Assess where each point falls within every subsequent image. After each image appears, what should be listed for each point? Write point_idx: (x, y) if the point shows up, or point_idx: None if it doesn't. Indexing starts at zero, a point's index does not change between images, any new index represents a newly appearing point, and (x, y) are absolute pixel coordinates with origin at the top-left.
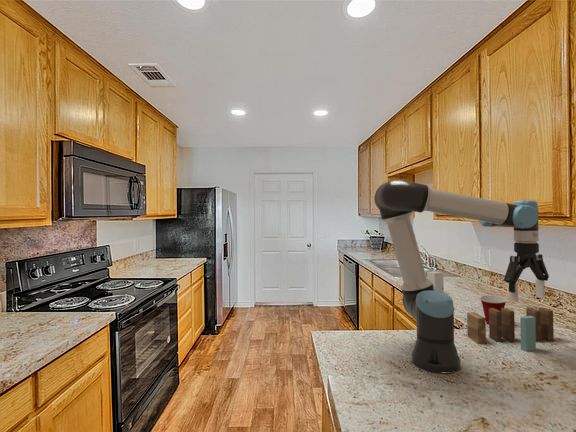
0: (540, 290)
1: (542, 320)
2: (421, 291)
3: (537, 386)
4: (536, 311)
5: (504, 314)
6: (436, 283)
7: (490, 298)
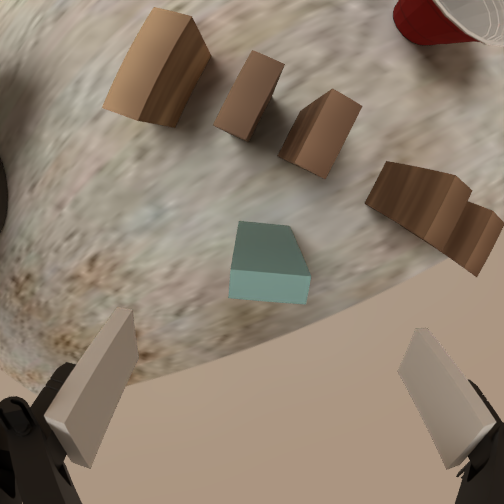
0: (426, 394)
1: None
2: None
3: (79, 352)
4: (428, 241)
5: (310, 120)
6: None
7: None
